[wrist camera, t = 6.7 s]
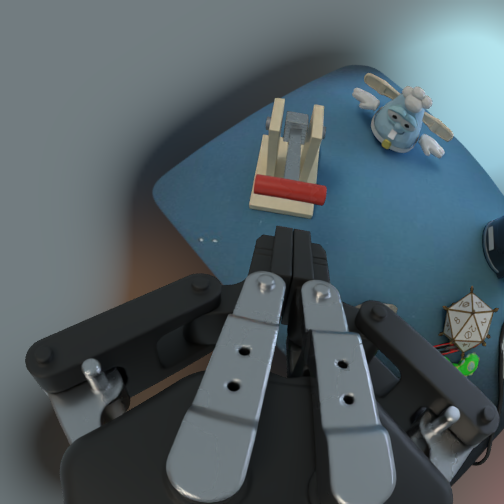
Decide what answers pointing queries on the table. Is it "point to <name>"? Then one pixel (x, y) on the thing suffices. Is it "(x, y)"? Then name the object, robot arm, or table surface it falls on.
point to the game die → (468, 322)
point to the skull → (503, 346)
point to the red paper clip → (450, 346)
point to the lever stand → (275, 160)
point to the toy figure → (402, 117)
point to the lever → (292, 168)
